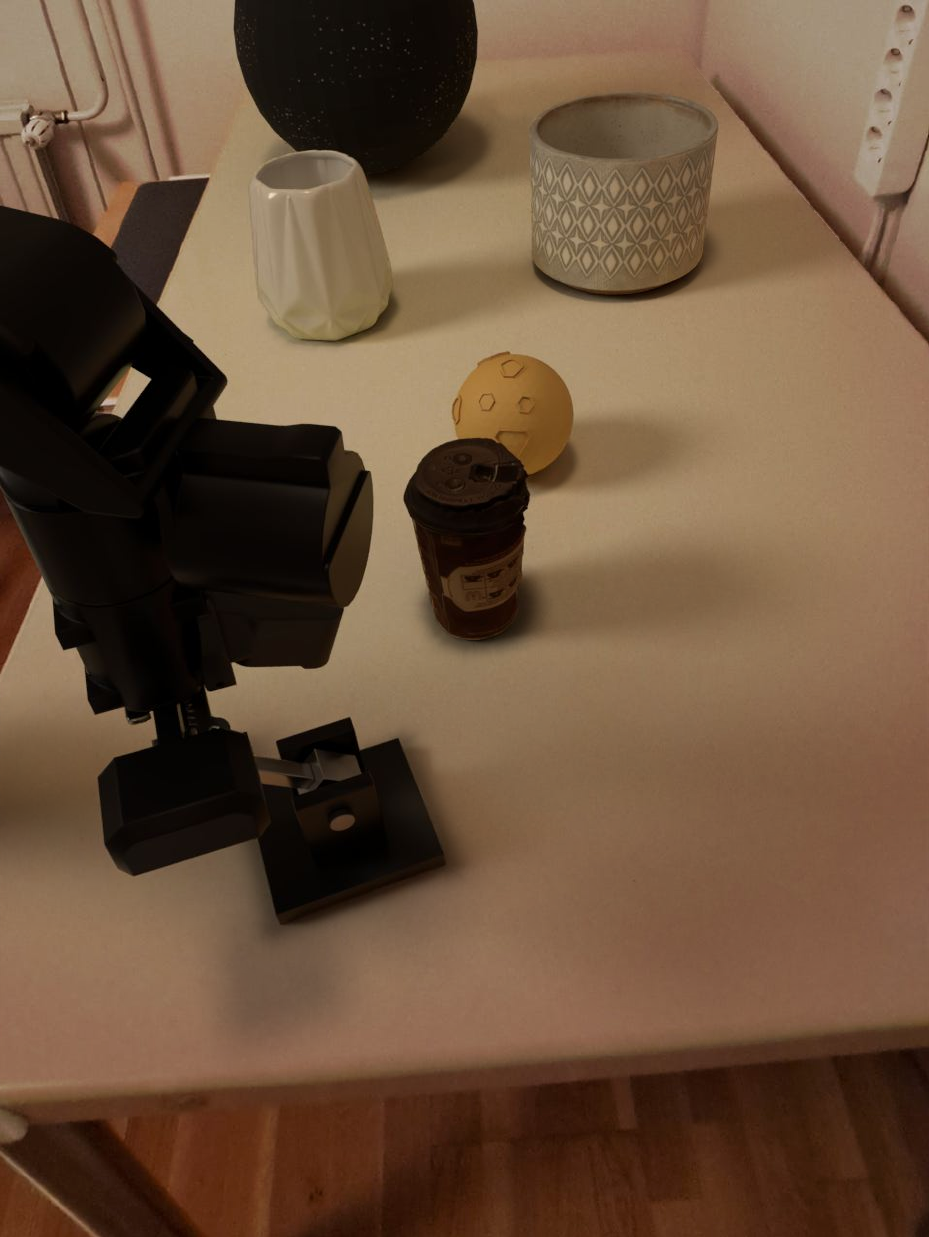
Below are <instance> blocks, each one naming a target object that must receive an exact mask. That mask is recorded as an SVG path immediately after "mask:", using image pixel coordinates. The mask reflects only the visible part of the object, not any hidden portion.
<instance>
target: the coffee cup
mask: <svg viewBox="0 0 929 1237" xmlns="http://www.w3.org/2000/svg"><path fill="white" fill-rule="evenodd" d="M527 478H529V475H528V474H527V472H526V470H525V469H524V465H523V464H522V463H521V461H520V460H519V459H518V458H516V457H515V456H514V455H513V454H512V453H511V452H510V451H508V449H507V448H506V447H505V446H504V445H502V444H501V443H497V442H496V441H495V440H493V439H490V438H465V439H458V438H456V439H454V440H449V441H446V442H443V443H442V444H440V445H437V446H436V447H434V448H432V449H431V450H429V451H428V452H427V454H425V455H424V456H423V457H422V458H421V460H420V461H419V463H418V464H417V466H416V470H415V472H414V473H413V474H412V476H411V477H410V478H409V480H408V482H407V484H406V487H405V489H404V492H403V497H402V501H403V503H404V506H405V508H406V510H407V513H408V515H409V517H410V518H411V522H412V526H413V529H414V535H415V539H416V543H417V551H418V553H419V557H420V562H421V567H422V571H423V573H424V577H425V584H426V587H427V588H428V597H429V601H430V605H431V606H432V611H433V614H434V617H435V620H436V622H437V624H438V625H439V626H440V628H441V629H442V630H443V631H444V632H446V633H447V635H449V636H451V637H453V638H458V639H462V640H467V641H468V640H469V641H478V640H485V639H488V638H491V637H493V636H496V635H499V634H501V633H503V632H504V631H506V629H508V627H510V626H511V625H512V623H513V622H514V620H515V619H516V616H517V613H518V611H519V608H520V602H519V599H518V592H517V591H518V590H519V587H520V585H521V582H522V580H523V557H524V553H525V552H524V548H525V536H526V532H527V526H526V525H525V524H524V523H525V520H526V518H525V514H524V513H525V512H526V511H527V510H528V509H529V504H530V502H531V501H530V500H531V493H530V491H529V488H528V485H527V481H526V480H527Z"/></svg>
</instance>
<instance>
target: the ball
mask: <svg viewBox="0 0 929 1237" xmlns="http://www.w3.org/2000/svg"><path fill="white" fill-rule="evenodd" d="M233 35H234V44H235V51H236V52H235V53H236V58H237V61H238V63H239V67H240V72H241V74H242V77H243V81H244V83H245V86H246V88H247V90H248V93H249V94H250V96H251V98H252V100H253V102H254V105H255V106H256V108H257V110H258V113H259V114H260V115H261V116H262V117H263V119H264V120H265V122H266V123H267V124H268V125H269V127H270V128H271V129H272V130H273V132H274V133H275V134H276V135H277V136H278V137H279V138H281V139H282V140H283V141H284V142H285V143H286V144H288V145H289V146H290V147H291V148H292V149H293V150H295V152H302V151H309V150H318V151H322V150H330V151H337V152H340V153H344V154H347V155H348V156H349V157H352V158H354V159H355V160H356V161H357V162H358V163H359V164H360V166H361V167H362V169H363V171H364V174H365V175H366V174H367V175H369V174H380V173H384V172H389V171H393V170H395V169H398V168H401V167H403V166H406V165H408V164H409V163H411V162H413V161H415V160H416V159H418V158H420V157H422V156H423V155H425V154H426V153H427V152H429V151H430V150H431V149H432V148H433V147H434V146H435V145H436V144H437V143H438V142H439V141H440V140H441V139H443V137H444V136H445V135H446V134H447V133H448V131H449V129H450V128H451V127H452V126H453V124H454V122H455V121H456V119H457V118H458V116H459V115H460V114H461V112H462V109H463V107H464V104H465V102H466V100H467V98H468V95H469V92H470V90H471V86H472V82H473V78H474V73H475V69H476V64H477V60H478V40H479V39H478V38H479V37H478V36H479V30H478V22H477V15H476V8H475V2H474V0H234V11H233Z"/></svg>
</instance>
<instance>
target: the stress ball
mask: <svg viewBox="0 0 929 1237" xmlns="http://www.w3.org/2000/svg"><path fill="white" fill-rule="evenodd" d="M476 365H477V366H476V368H474V369H473V370H472V371H471V372H470V373H469V374H468V375H467V377H466V378H465V380H464V381H463V382H462V384H461V386H460V388H459V390H458V392H457V394H456V397H455V398H454V400H453V402H452V408H451V418H452V420H453V424H454V432H455V435H456V437H457V438H456V439H465V438H490V439H493V440H495V441H496V442H497V443H501V444H502V445H504V446H505V447H506V448H507V449H508V451H510V452H511V453H512V454H513V455H514V456H515V457H516V458H518V459H519V460H520V461H521V463H522V464H523V465H524V469H525V470H526V472H527V474H528V476H529V475H532V474H535V473H537V472H540V471H542V470H543V469H544V468H546V467H548V466H549V465H550V464H552V463H553V462H554V461H555V460H556V459H557V458H558V457H559V456H560V454H561V453H562V452H563V451H564V449H565V448H566V446H567V443H568V441H569V439H570V436H571V434H572V430H573V425H574V413H575V412H574V405H573V400H572V396H571V393H570V390H569V387H568V386H567V385H566V382H565V380H564V379H563V378H562V376H560V374H559V373H558V372H557V371H556V370H555V369H554V368H552V367H551V366H550V365H549V364H547V363H546V362H544V361H542V360H541V359H538V358H536V357H533V356H530V355H526V354H519V353H511V352H510V351H509V350H507V351H503V352H498V353H495V354H493V355H490V356H488V357H485V358H482V360H479V361H478V362H477V363H476Z"/></svg>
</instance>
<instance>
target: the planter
mask: <svg viewBox="0 0 929 1237" xmlns="http://www.w3.org/2000/svg"><path fill="white" fill-rule="evenodd" d="M717 118H718V117H717V116H716V115H715V114H714V113H713V112H712V111H711V110H710V109H708V108H707V107H705V106H704V105H702V104H701V103H698V102H696V101H693V100H690V99H687V98H683V97H680V96H677V95H676V96H675V95H671V94H665V93H655V92H644V91H643V92H641V91H618V92H617V91H616V92H605V93H596V94H591V95H584V96H580V97H576V98H572V99H568V100H565V101H563V102H559V103H557V104H555V105H552V106H550V107H548V108H546V109H545V110H543V111H542V112H540V113H539V114H538V115H537V116H535V118H534V119H533V121H532V122H531V124H530V127H529V148H530V149H529V150H530V157H529V158H530V159H529V160H530V230H531V233H530V235H531V236H530V237H531V241H530V242H531V257H532V261H533V263H534V264H535V265H536V267H537V268H538V269H539V270H540V271H541V272H543V273H544V274H545V275H546V276H548V277H550V278H552V279H553V280H555V281H558V282H560V283H562V284H564V285H566V286H568V287H571V288H573V289H575V290H579V291H581V292H586V293H591V294H599V295H611V296H612V295H613V296H614V295H615V296H616V295H630V294H631V295H632V294H638V293H645V292H647V291H651V290H654V289H657V288H660V287H662V286H664V285H666V284H668V283H671V282H673V281H675V280H678V279H680V278H681V277H683V276H685V275H687V274H688V273H690V272H691V271H692V270H693V269H694V268H696V267H697V265H698V264H699V262H701V258H702V256H703V253H704V245H705V237H706V229H707V222H708V221H707V220H708V214H709V204H710V196H711V190H712V180H713V173H714V165H715V156H716V150H717V149H716V147H717V140H718V132H719V121H718V119H717Z"/></svg>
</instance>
